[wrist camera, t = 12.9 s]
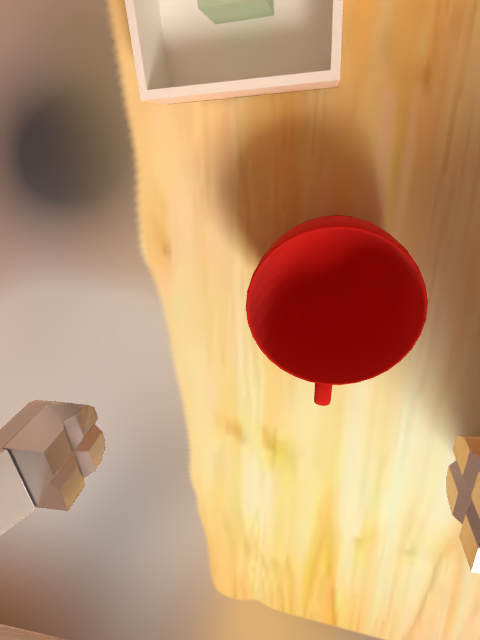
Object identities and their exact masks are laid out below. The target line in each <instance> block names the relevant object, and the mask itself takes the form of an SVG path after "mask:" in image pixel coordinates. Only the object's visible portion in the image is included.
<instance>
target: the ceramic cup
mask: <svg viewBox="0 0 480 640" xmlns="http://www.w3.org/2000/svg"><path fill="white" fill-rule="evenodd" d="M427 304H428V301H427V293H426V286H425V283H424V280H423V278H422V275H421V272H420V270H419V267H418V266H417V264H416V263H415V261H414V260H413V259H412V257H411V256H410V254H409V253H408V251H407V250H406V249H405V248H404V247H403V246H402V245H401V244H400V243H399V242H398V241H397V240H395V239H394V238H393V237H392V236H391V235H390V234H389V233H387V232H386V231H384V230H383V229H381V228H379V227H377V226H376V225H374V224H372V223H370V222H367V221H364V220H361V219H358V218H355V217H348V216H339V215H337V216H324V217H319V218H316V219H312V220H309V221H306V222H304V223H302V224H300V225H298V226H296V227H294V228H292V229H291V230H289V231H288V232H287V233H285V234H284V235H283V236H281V237H280V238H279V239H278V240H277V241H276V242H275V243H274V244H273V245H272V247H271V248H270V249H269V250H268V251H267V252H266V254H265V255H264V256H263V257H262V259H261V261H260V263H259V264H258V266H257V268H256V270H255V272H254V273H253V275H252V278H251V282H250V285H249V288H248V291H247V301H246V312H247V320H248V324H249V327H250V330H251V333H252V336H253V338H254V339H255V341H256V343H257V345H258V346H259V348H260V349H261V350H262V352H263V353H264V354H265V355H266V356H267V357H268V359H269V360H270V361H272V362H273V363H274V364H275V365H277V366H278V367H279V368H281V369H282V370H284V371H286V372H287V373H289V374H291V375H293V376H295V377H298V378H300V379H303V380H306V381H309V382H314V383H315V394H314V402H315V403H316V404H318V405H322V406H326V405H329V404H330V401H331V392H332V385H343V384H350V383H357V382H361V381H364V380H367V379H371V378H373V377H376V376H378V375H380V374H382V373H384V372H386V371H388V370H389V369H390V368H392V367H393V366H394V365H396V364H397V363H398V362H400V361H401V360H402V359H403V358H404V357H405V356H406V355H407V353H408V352H409V351H410V350H411V349H412V348H413V346H414V344H415V343H416V341H417V340H418V338H419V336H420V335H421V332H422V329H423V326H424V323H425V321H426V314H427Z"/></svg>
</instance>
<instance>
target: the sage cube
mask: <svg viewBox="0 0 480 640" xmlns="http://www.w3.org/2000/svg"><path fill="white" fill-rule="evenodd" d="M197 2H198V9H199V10H200V11H201V12H203V13H204V14H205V15H206V16H207V17H208V18H209V19H210V20H211V21H212V22H213V23H215V24H222V23H228V22H235V21H242V20H249V19H255V18H262V17H269V16H274V0H197Z"/></svg>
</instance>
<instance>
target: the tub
mask: <svg viewBox="0 0 480 640" xmlns="http://www.w3.org/2000/svg"><path fill="white" fill-rule="evenodd" d="M125 6H126V12H127V18H128V24H129V30H130V37H131V43H132V49H133V55H134V61H135V67H136V73H137V79H138V85H139V91H140V98H141V100H142V101H149V102H156V103H164V104H174V103H184V102H194V101H204V100H214V99H224V98H234V97H244V96H255V95H265V94H275V93H285V92H295V91H305V90H315V89H325V88H335V87H338V84H339V81H340V66H341V42H342V17H343V0H274V16H269V17H262V18H255V19H249V20H242V21H235V22H228V23H222V24H215V23H213V22H212V21H211V20H210V19H209V18H208V17H207V16H206V15H205V14H204V13H203V12H201V11H200V10H199V9H198V2H197V0H125Z"/></svg>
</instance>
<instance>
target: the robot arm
mask: <svg viewBox="0 0 480 640" xmlns="http://www.w3.org/2000/svg"><path fill="white" fill-rule="evenodd" d="M97 419H98V416H97V413H96V411H95V408H94V407H92V406H89V405H83V404H74V403H65V402H56V401H54V402H51V401H43V400H35V401H32V402H30V403H28V404H27V405H26V406H25V407H24V408H23V409H22V410H21V411H20V412H19V413H18V414H17V415H15V416H14V417H13V418H12V419H11V420H10V421H9V422H8V423H7V424H6V425H5V426H4V427H3V428H1V429H0V536H1V535H2V534H3V533H4V532H6V531H7V530H9V529H10V528H11V527H12V526H14V525H15V524H16V523H18V522H19V521H20V520H22V519H23V518H24V517H26V516H27V515H28V514H30V513H31V512H32V511H34V510H35V507H39V508H48V509H56V510H65V511H68V510H69V509H70V507H71V506H72V505H73V503H74V502H75V500H76V498H77V497H78V496H79V494H80V493H81V491H82V489H83V488H84V487H85V482H84V478H85V477H86V476H88V475H89V474H91V473H92V472H94V471H95V470H96V469H97V467H98V465H99V464H100V462H101V460H102V457H103V453H104V450H105V439H104V435H103V432H102V431H101V430H100V429H99V428H98V427H97V426H96V425H95V423H96V421H97ZM453 452H454V454H455V457H456V460H457V461H455V462H454V463H452V464H451V465H449V467H448V472H447V477H446V485H447V497H448V502H449V505H450V509H451V512H452V515H453V516H454V517H455V518H456V519H457V520H458V521H459V522H461V523H462V524H463V525H462V529H461V532H460V536H459V537H460V540H461V543H462V546H463V549H464V552H465V555H466V558H467V561H468V564H469V567H470V570H471V572H476V573H480V437H473V436H458V437H457V439H456V440H455V443H454V447H453ZM0 640H65V639H61V638H57V637H52V636H49V635H44V634H40V633H36V632H31V631H27V630H23V629H18V628H14V627H10V626H5V625H1V624H0Z"/></svg>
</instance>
